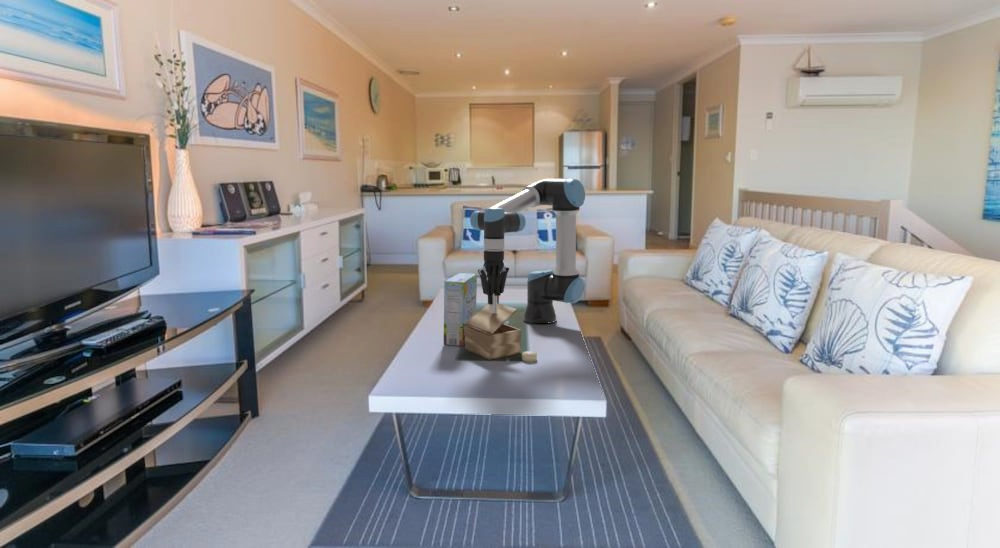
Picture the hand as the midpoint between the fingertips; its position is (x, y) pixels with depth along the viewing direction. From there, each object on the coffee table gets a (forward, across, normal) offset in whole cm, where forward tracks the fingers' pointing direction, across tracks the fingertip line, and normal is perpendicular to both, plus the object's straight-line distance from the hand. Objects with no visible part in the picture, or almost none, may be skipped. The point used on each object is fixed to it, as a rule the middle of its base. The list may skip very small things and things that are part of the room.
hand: (493, 312), depth 213 cm
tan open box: (+15, 0, 0) cm, 15 cm away
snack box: (+15, +1, -21) cm, 26 cm away
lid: (+2, +1, 0) cm, 2 cm away
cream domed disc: (+15, -5, +16) cm, 23 cm away
